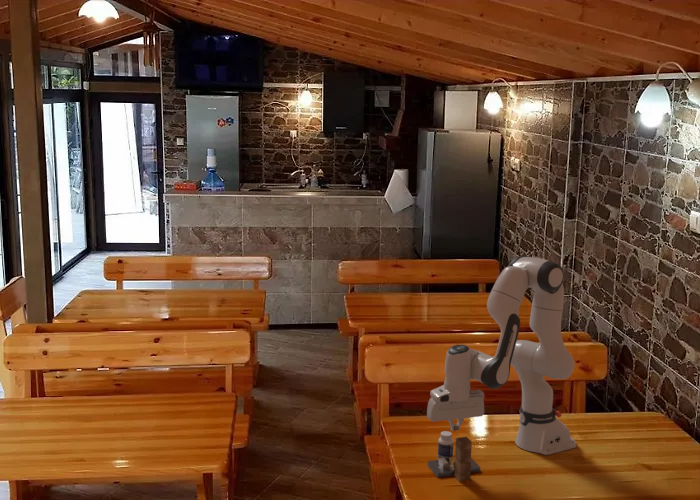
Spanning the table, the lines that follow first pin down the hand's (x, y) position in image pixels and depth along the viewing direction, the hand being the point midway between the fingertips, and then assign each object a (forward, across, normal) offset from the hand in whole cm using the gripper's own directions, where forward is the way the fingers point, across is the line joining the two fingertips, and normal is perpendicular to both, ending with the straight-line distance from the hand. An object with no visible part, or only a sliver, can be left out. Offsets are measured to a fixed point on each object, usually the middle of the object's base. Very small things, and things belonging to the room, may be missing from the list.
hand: (455, 429), depth 262 cm
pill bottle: (+15, 0, -8) cm, 17 cm away
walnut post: (+14, 0, +7) cm, 16 cm away
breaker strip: (+14, 0, 0) cm, 15 cm away
